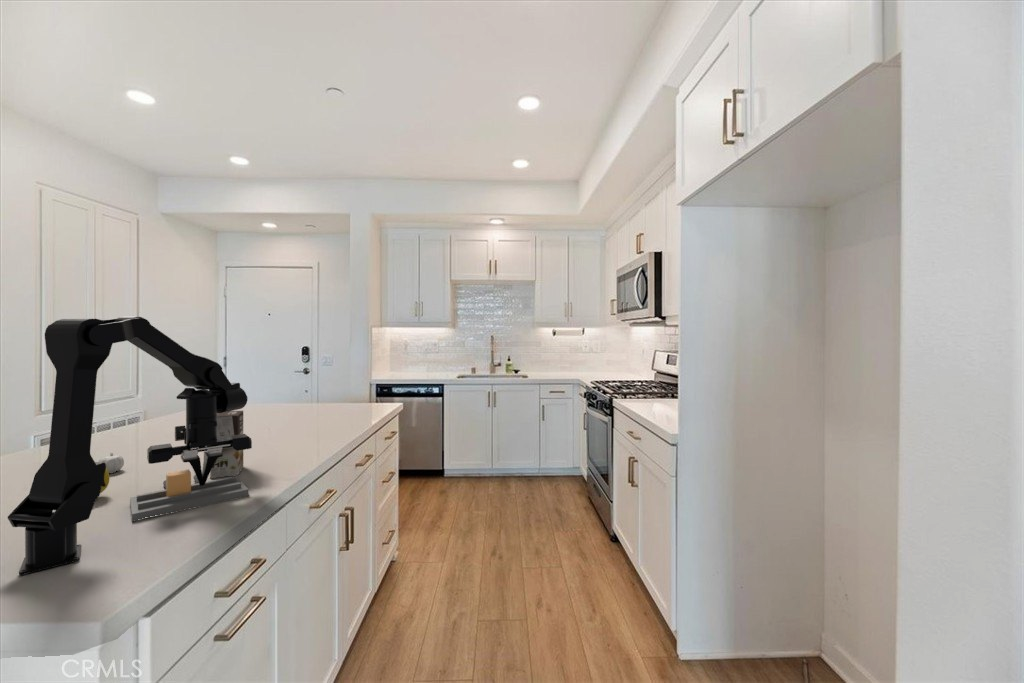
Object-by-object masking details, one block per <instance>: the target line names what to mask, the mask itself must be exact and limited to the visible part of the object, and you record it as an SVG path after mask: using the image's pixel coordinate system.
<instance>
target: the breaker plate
mask: <svg viewBox="0 0 1024 683" xmlns="http://www.w3.org/2000/svg"><path fill="white" fill-rule="evenodd" d="M249 494H250V493H249V488H248V487H247V486H246V485H245V484H244V483H243V481H242V480H240V479H239V477H237V476H228V477H223V478H219V479H214V480H213V479H212V480H209V481H206V483H205V485H203V486H200V484H199V483H194V484H192V483H191V492H188V493H183V494H178V495H173V496H168V497H167V496H166V490H165V489H161V490H156V491H151V492H145V493H141V494H136V496H133V497H129V507H130V508H131V509H130V516H131V522H132V521H133V522H135V521H134V520H138V519H142V518H145V517H150V516H155V515H160V514H165V515H167V514H166V513H169V514H172V513H171V512H174V513H177V512H176V511H178V512H181V511H180V510H183V511H185V510H184V509H187V510H190V509H189V508H192V509H195V508H194V507H196V508H200V507H199V506H201V507H205V506H209V505H214V504H218V502H219V503H223V502H222V501H224V502H228V501H231V499H233V500H237V499H241V498H245V497H249ZM236 498H237V499H236ZM227 500H228V501H227ZM204 505H205V506H204ZM160 516H161V515H160ZM142 520H143V519H142ZM138 521H139V520H138Z"/></svg>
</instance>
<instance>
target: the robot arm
mask: <svg viewBox="0 0 1024 683" xmlns="http://www.w3.org/2000/svg"><path fill="white" fill-rule="evenodd" d="M44 342H45V343H44V344H45V348H46V349H45V351H46V355H47V357H48V358H49V359H50V362H51V363H52V365H53V366H54V369H55V371H56V373H55V374H56V375H55V383H54V394H53V406H52V416H51V427H50V437H49V447H48V454H47V458H46V460H44V462H42V465H41V466H40V467H39V469H38V470H36V473H35V474H34V476H33V480H32V482H31V486H30V490H29V493H28V495H27V496H26V497H25V498H24V499H23V500H22V501H21V502H20V503H19V504H18V505H17V506H16V507H15V508H14V509H13V510H12V512H10V513H9V514H8V516H7V520H8V521H9V523H10V524H11V527H12V528H24V533H25V534H24V538H25V539H24V540H25V541H24V545H25V549H24V552H25V557H24V558H23V561H22V562H21V565H20V568H19V570H18V576H23V575H26V574H27V575H28V574H30V573H34V572H39V571H43V570H46V569H51V568H55V567H58V566H62V565H67V564H70V563H73V562H74V563H75V562H77V561H80V558H81V552H82V551H81V550H82V544H78V524H79V523H81V522H85V521H87V520H89V518H90V517H91V514H92V511H93V508H94V506H95V503H96V500H98V499H99V497H100V494H101V493H102V492H101V486H102V487H105V486H106V484H105V482H104V474H105V470H106V464H105V463H104V462H99V461H95V460H94V458H93V456H92V455H91V447H92V435H93V423H94V412H95V403H96V402H95V401H96V400H95V398H96V390H97V389H96V388H97V379H98V378H97V377H98V371H99V369H100V368H101V366H102V365H103V364H104V363H105V361H106V360H107V359H108V357H109V356H110V354H111V351H112V347H113V344H117V343H121V342H129V343H131V345H133V346H134V347H137V348H138V349H140V350H141V351H143V352H144V353H146V354H148V355H149V356H151V357H152V358H154V359H156V360H157V361H159V362H161V363H162V364H163V365H165V366H167V367H168V368H169V369H170V370H171V372H172V373H173V376H174V378H176V379H177V380H178V381H179V382H180V383H181V384H182V385H184V386H185V388H184V389H183V390H182V392H179V394H178V395H177V396H175V397H176V400H185V425H177V426H175V427H174V441H175V442H178V441H179V442H180V441H184V442H183V443H184V445H179V446H172V444H171V443H165V444H164V443H163V444H162V443H161V444H154V445H150V446H149V447H148V448H147V449H146V452H147V453H146V454H147V455H146V456H147V457H146V460H147V462H148V464H159V463H167V462H169V461H170V460H171V459H172V458H173V457H174V456H180V459H181V461H182V463H189V464H190V466H191V468H192V470H193V472H194V476H195V475H196V477H197V480H198V482H199V484H200V486H203V485H205V483H206V482H207V480H208V478H209V477H210V471H211V469H212V467H213V465H214V464H215V462H216V460H217V458H218V457H222V456H223V454H222V453H221V450H222V449H223V448H230V447H232V448H234V449H235V450H237V451H239V450H243V451H245V450H250V449H253V448H252V447H253V442H252V438H251V437H250V436H248V435H247V434H245V433H243V434H239V435H231V436H228V440H222V441H217V413H224V412H228V411H239V410H241V409H244V407H245V406H246V405H247V402H248V398H249V397H248V395H247V393H246V391H245V390H244V388H242V387H241V383H240V382H230V380H229V379H228V377H227V376H226V374H225V373H224V371H223V366H222V365H220V364H219V363H218V362H216V361H214V360H212V359H210V358H208V357H204V356H202V355H201V356H200V355H196V354H195V353H192V352H190V351H189V350H187V348H185V347H184V346H182V345H181V344H179V343H178V342H176V341H175V340H173V339H172V338H170V337H169V336H168V335H166V334H164V332H162V331H161V330H159V329H158V328H156V327H155V326H153V324H151V322H150V321H149V320H148V319H146V318H144V317H142V316H119V317H117V318H111V319H110V318H109V319H98V318H61V319H57V320H55V321H54V322H52V323H51V324H48V326H47V327H46V328H45V332H44ZM200 452H203V462H202V463H203V464H202V463H201V458H200V456H199V453H200ZM100 492H101V493H100ZM53 511H54V512H53Z"/></svg>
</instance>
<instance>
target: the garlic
mask: <svg viewBox="0 0 1024 683" xmlns="http://www.w3.org/2000/svg"><path fill="white" fill-rule="evenodd" d="M109 454H110V455H107V456H105V457H103V458H101V459H100V458H99V460H98V462H104V463H105V464H106V469H107V470H108V472H109V473H111V474H113V473H112V472H114V473H116V471H117V472H119V471H120V470H122V469H123V468H124V466H125V460H124V458H123V456H121V455H116V454H115V455H114V452H110V453H109Z"/></svg>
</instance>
